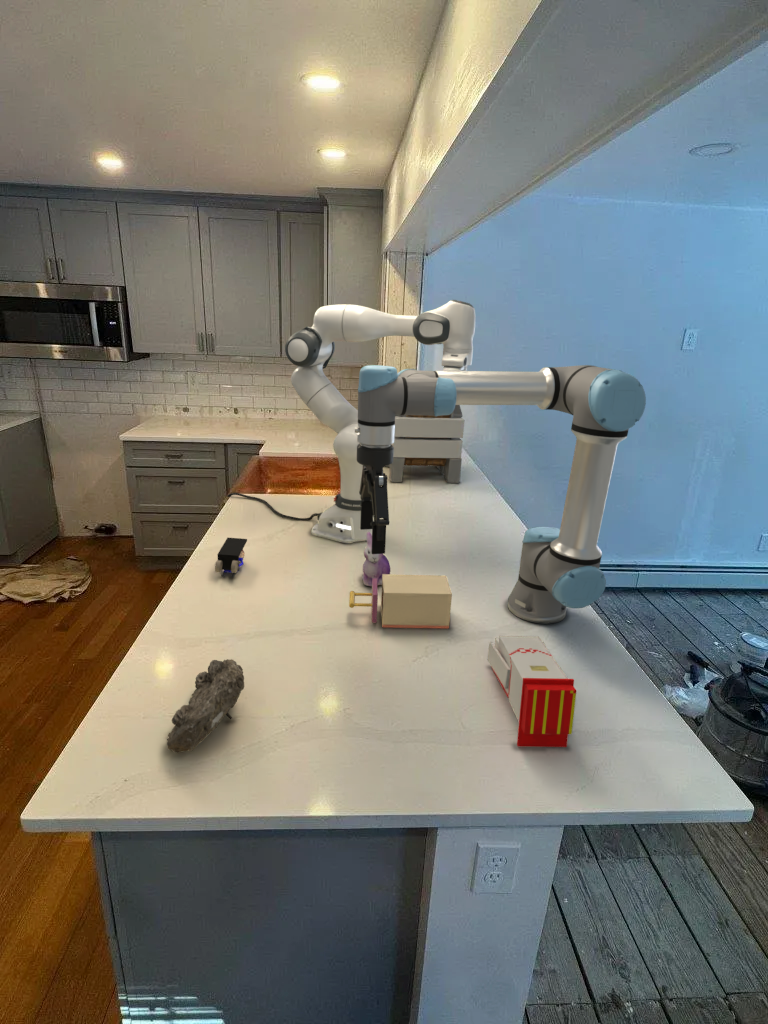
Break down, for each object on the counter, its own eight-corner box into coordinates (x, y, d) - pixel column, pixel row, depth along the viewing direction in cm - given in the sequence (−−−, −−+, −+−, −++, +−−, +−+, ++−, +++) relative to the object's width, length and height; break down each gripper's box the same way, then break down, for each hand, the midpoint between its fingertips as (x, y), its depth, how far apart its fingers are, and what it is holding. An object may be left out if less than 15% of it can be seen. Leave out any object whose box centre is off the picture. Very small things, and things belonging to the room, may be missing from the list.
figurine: (368, 590, 159) (370, 541, 153) (353, 575, 167) (354, 528, 162) (398, 584, 163) (401, 536, 158) (382, 570, 171) (384, 524, 166)
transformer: (382, 463, 289) (386, 382, 275) (445, 464, 293) (451, 384, 279) (390, 482, 257) (394, 392, 243) (460, 483, 261) (468, 394, 247)
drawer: (348, 622, 141) (349, 594, 138) (349, 604, 149) (350, 577, 147) (433, 623, 142) (436, 595, 139) (429, 605, 150) (431, 579, 148)
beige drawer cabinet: (382, 627, 141) (383, 592, 138) (380, 607, 151) (382, 574, 147) (448, 628, 142) (452, 593, 139) (443, 608, 151) (446, 575, 148)
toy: (536, 619, 129) (586, 686, 99) (531, 673, 131) (578, 754, 102) (483, 618, 128) (517, 685, 99) (479, 672, 131) (511, 753, 102)
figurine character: (238, 584, 162) (249, 557, 175) (236, 562, 158) (247, 536, 172) (215, 584, 161) (227, 556, 175) (212, 561, 158) (225, 535, 171)
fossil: (192, 660, 117) (244, 628, 112) (224, 691, 120) (276, 661, 115) (142, 746, 98) (202, 712, 93) (182, 779, 101) (242, 748, 96)
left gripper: (452, 355, 180) (449, 399, 184) (440, 360, 161) (436, 408, 166) (472, 356, 178) (468, 400, 183) (462, 361, 159) (458, 410, 164)
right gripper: (348, 431, 126) (346, 520, 133) (368, 460, 103) (365, 565, 110) (381, 431, 127) (377, 519, 135) (408, 459, 105) (402, 563, 112)
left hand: (453, 404), depth 174 cm, fingers open, 8 cm apart
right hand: (372, 540), depth 122 cm, fingers open, 13 cm apart
